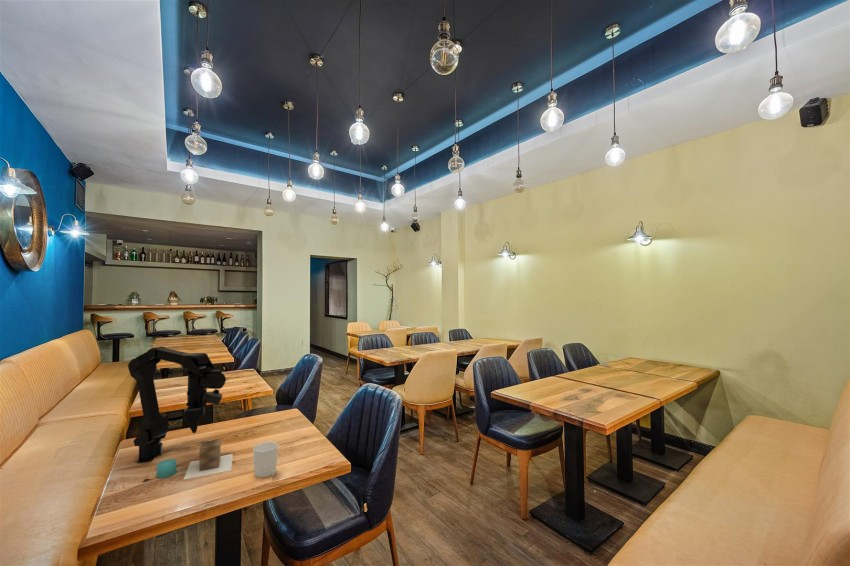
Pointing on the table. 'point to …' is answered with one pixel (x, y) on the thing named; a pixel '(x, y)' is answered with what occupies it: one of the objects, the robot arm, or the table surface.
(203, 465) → the block
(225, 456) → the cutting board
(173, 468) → the teal cylinder
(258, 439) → the table surface
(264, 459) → the white cup
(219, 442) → the tower top
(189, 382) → the robot arm
